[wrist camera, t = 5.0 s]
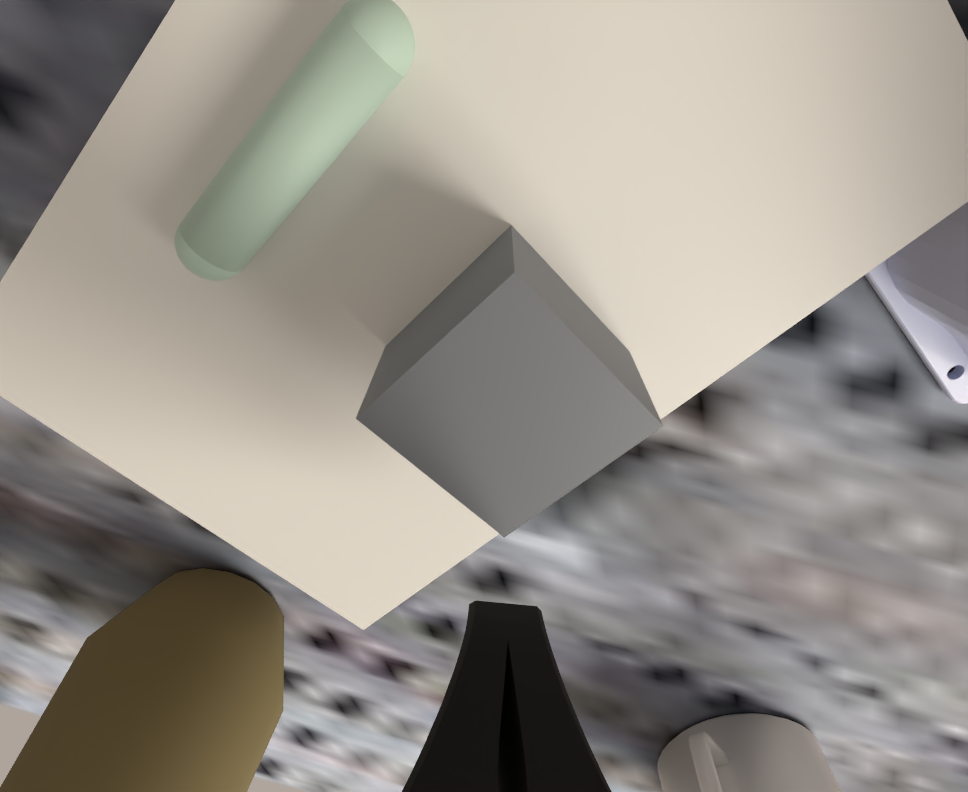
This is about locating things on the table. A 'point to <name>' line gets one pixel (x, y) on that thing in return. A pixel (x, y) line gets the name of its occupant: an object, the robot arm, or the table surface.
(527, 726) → the robot arm
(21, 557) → the table surface
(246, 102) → the level plate
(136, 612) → the squeeze bottle
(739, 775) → the mug
